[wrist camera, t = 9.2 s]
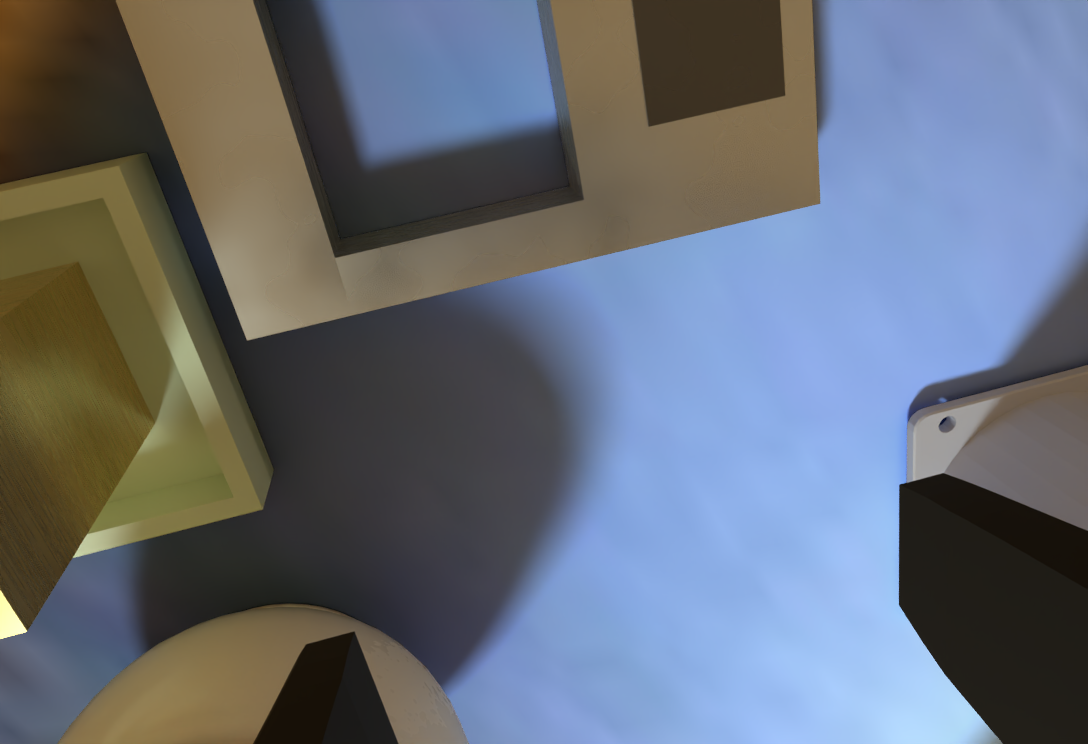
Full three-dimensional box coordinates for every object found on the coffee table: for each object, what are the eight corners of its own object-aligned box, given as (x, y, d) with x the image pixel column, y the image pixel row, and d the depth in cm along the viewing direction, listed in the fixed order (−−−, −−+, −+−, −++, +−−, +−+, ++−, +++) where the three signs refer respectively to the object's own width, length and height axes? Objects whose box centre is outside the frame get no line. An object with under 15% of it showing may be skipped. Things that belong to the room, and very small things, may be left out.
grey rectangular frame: (766, -202, 16) (803, -226, 14) (788, 190, 19) (821, 204, 18) (114, -72, 15) (82, -84, 13) (258, 315, 18) (246, 341, 17)
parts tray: (146, 152, 16) (118, 165, 15) (273, 469, 20) (262, 509, 18) (-251, 239, 16) (-326, 263, 14) (-50, 551, 19) (-91, 599, 18)
